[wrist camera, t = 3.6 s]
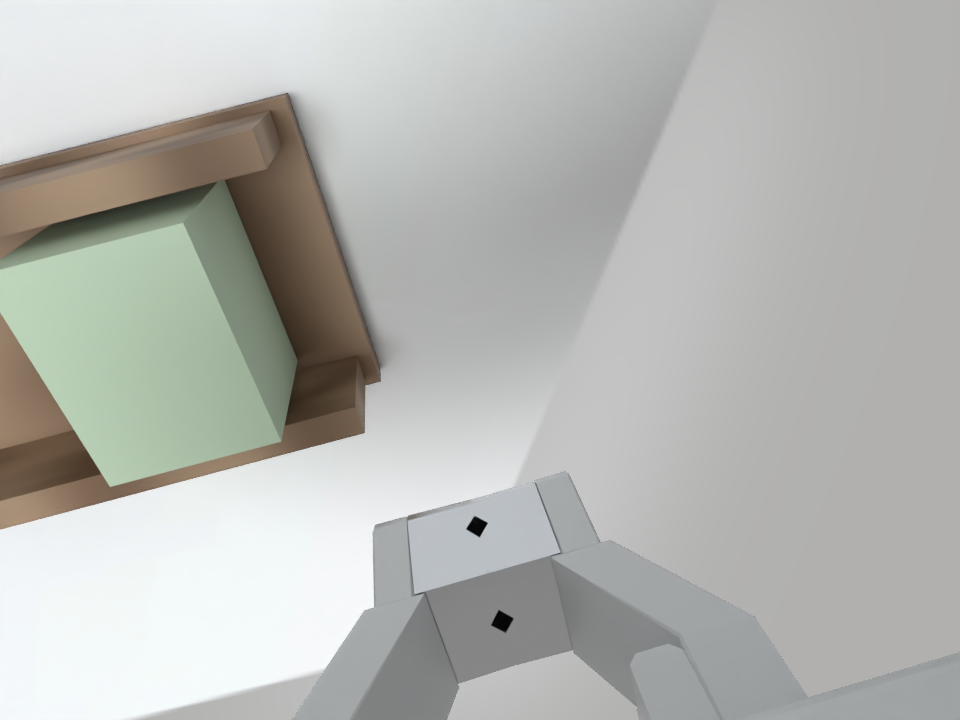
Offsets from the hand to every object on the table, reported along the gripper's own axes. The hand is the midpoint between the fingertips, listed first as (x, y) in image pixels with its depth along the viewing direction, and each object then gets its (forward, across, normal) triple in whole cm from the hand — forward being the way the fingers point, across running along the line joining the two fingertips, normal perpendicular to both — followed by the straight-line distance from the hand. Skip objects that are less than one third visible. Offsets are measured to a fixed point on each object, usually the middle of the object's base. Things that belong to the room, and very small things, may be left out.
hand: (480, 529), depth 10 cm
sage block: (+14, +8, -1) cm, 16 cm away
